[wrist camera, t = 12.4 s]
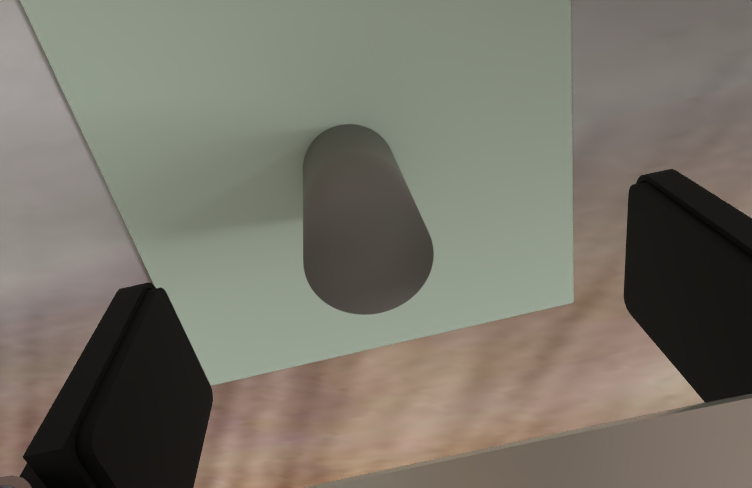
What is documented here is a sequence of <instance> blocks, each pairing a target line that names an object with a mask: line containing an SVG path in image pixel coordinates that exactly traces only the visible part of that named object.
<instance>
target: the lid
mask: <svg viewBox="0 0 752 488" xmlns="http://www.w3.org/2000/svg"><path fill="white" fill-rule="evenodd" d="M20 2H21V4H22V6H23V8H24V10H25V12H26V14H27V16H28V19H29V21H30V23H31V25H32V27H33V29H34V31H35V33H36V36H37V38H38V40H39V42H40V44H41V46H42V48H43V50H44V53H45V55H46V57H47V59H48V61H49V63H50V65H51V67H52V70H53V72H54V74H55V76H56V78H57V80H58V82H59V84H60V86H61V89H62V91H63V93H64V95H65V97H66V99H67V101H68V103H69V106H70V108H71V110H72V112H73V114H74V116H75V118H76V120H77V123H78V125H79V127H80V129H81V131H82V133H83V135H84V137H85V140H86V142H87V144H88V146H89V148H90V150H91V152H92V154H93V157H94V159H95V161H96V163H97V165H98V167H99V169H100V171H101V174H102V176H103V178H104V180H105V182H106V184H107V186H108V188H109V191H110V193H111V195H112V197H113V199H114V201H115V203H116V205H117V208H118V210H119V212H120V214H121V216H122V218H123V220H124V222H125V225H126V227H127V229H128V231H129V233H130V235H131V237H132V239H133V241H134V244H135V246H136V248H137V250H138V252H139V254H140V256H141V258H142V261H143V263H144V265H145V267H146V269H147V271H148V273H149V275H150V278H151V280H152V282H153V284H154V286H155V287H156V288H160V287H161V288H163V289H164V290H165V291H166V293H167V295H168V297H169V299H170V301H171V303H172V305H173V307H174V309H175V312H176V314H177V316H178V318H179V320H180V322H181V324H182V326H183V328H184V330H185V333H186V335H187V337H188V339H189V341H190V343H191V345H192V347H193V349H194V351H195V354H196V356H197V358H198V360H199V362H200V364H201V366H202V368H203V370H204V372H205V375H206V377H207V379H208V381H209V383H210V386H212V385H216V384H221V383H225V382H229V381H234V380H238V379H243V378H247V377H251V376H256V375H260V374H264V373H269V372H273V371H278V370H282V369H286V368H291V367H295V366H299V365H304V364H308V363H312V362H317V361H321V360H326V359H330V358H334V357H339V356H343V355H347V354H352V353H356V352H361V351H365V350H369V349H374V348H378V347H382V346H387V345H391V344H395V343H400V342H404V341H409V340H413V339H417V338H422V337H426V336H430V335H435V334H439V333H444V332H448V331H452V330H457V329H461V328H465V327H470V326H474V325H479V324H483V323H487V322H492V321H496V320H500V319H505V318H509V317H513V316H518V315H522V314H527V313H531V312H535V311H540V310H544V309H548V308H553V307H557V306H562V305H566V304H570V303H574V280H573V166H572V52H571V0H20Z"/></svg>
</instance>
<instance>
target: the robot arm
mask: <svg viewBox="0 0 752 488" xmlns="http://www.w3.org/2000/svg"><path fill="white" fill-rule="evenodd" d="M624 301H625V305H626V307H627V309H628V311H629V313H630V314H631V315H632V317H633V318H634V319H635V320H636V321H637V322H638V324H639V325H640V326H641V327H642V328H643V330H644V331H645V332H646V333H647V334H648V335H649V337H650V338H651V339H652V340H653V341H654V343H655V344H656V345H657V346H658V347H659V348H660V350H661V351H662V352H663V353H664V354H665V356H666V357H667V358H668V359H669V360H670V361H671V363H672V364H673V365H674V366H675V367H676V369H677V370H678V371H679V372H680V373H681V374H682V376H683V377H684V378H685V379H686V380H687V382H688V383H689V384H690V385H691V386H692V387H693V389H694V390H695V391H696V392H697V393H698V395H699V396H700V397H701V398H702V399H703V400H704V402H705V403H701V404H697V405H692V406H687V407H682V408H677V409H672V410H668V411H663V412H658V413H653V414H648V415H643V416H639V417H634V418H629V419H624V420H619V421H614V422H610V423H605V424H600V425H595V426H590V427H585V428H581V429H576V430H571V431H566V432H561V433H556V434H552V435H547V436H542V437H537V438H533V439H528V440H523V441H519V442H514V443H509V444H504V445H500V446H495V447H490V448H486V449H481V450H476V451H471V452H467V453H462V454H457V455H453V456H448V457H443V458H439V459H434V460H429V461H424V462H420V463H415V464H410V465H406V466H401V467H396V468H392V469H387V470H382V471H378V472H373V473H368V474H364V475H359V476H355V477H350V478H345V479H341V480H336V481H332V482H327V483H323V484H318V485H313V486H309V487H304V488H752V218H750V217H748V216H747V215H745V214H744V213H742V212H741V211H739V210H737V209H736V208H734V207H733V206H731V205H730V204H728V203H726V202H725V201H723V200H722V199H720V198H718V197H717V196H715V195H714V194H712V193H711V192H709V191H707V190H706V189H704V188H703V187H701V186H699V185H698V184H696V183H695V182H693V181H692V180H690V179H688V178H687V177H685V176H684V175H682V174H680V173H679V172H677V171H676V170H673V169H669V170H664V171H660V172H655V173H650V174H646V175H641V176H640V177H639V178H638V180H637V183H636V184H634V185H632V186H631V187H630V189H629V198H628V218H627V239H626V260H625V281H624ZM212 402H213V395H212V389H211V386H210V383H209V381H208V379H207V377H206V375H205V372H204V370H203V368H202V366H201V364H200V362H199V360H198V358H197V356H196V354H195V351H194V349H193V347H192V345H191V343H190V341H189V339H188V337H187V335H186V333H185V330H184V328H183V326H182V324H181V322H180V320H179V318H178V316H177V314H176V312H175V309H174V307H173V305H172V303H171V301H170V299H169V297H168V295H167V293H166V291H165V290H164V289H163V288H161V287H160V288H156V287H155V286H154V285H153V284H152V283H145V284H140V285H135V286H131V287H126V288H122V289H119V290H118V291H117V293H116V295H115V296H114V298H113V300H112V302H111V303H110V305H109V307H108V309H107V310H106V312H105V314H104V316H103V317H102V319H101V321H100V323H99V324H98V326H97V328H96V330H95V331H94V333H93V335H92V337H91V338H90V340H89V342H88V344H87V345H86V347H85V349H84V351H83V352H82V354H81V356H80V358H79V359H78V361H77V363H76V365H75V366H74V368H73V370H72V372H71V373H70V375H69V377H68V379H67V380H66V382H65V384H64V386H63V387H62V389H61V391H60V393H59V394H58V396H57V398H56V400H55V401H54V403H53V405H52V407H51V408H50V410H49V412H48V414H47V415H46V417H45V419H44V421H43V422H42V424H41V426H40V428H39V429H38V431H37V433H36V435H35V436H34V438H33V440H32V442H31V443H30V445H29V447H28V449H27V450H26V452H25V454H24V456H23V458H24V459H25V461H26V462H27V464H26V466H25V468H24V470H23V472H22V473H21V475H20V477H17V476H6V477H0V488H193V487H194V482H195V478H196V473H197V469H198V465H199V460H200V456H201V451H202V447H203V442H204V438H205V434H206V429H207V425H208V420H209V416H210V411H211V407H212Z"/></svg>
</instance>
